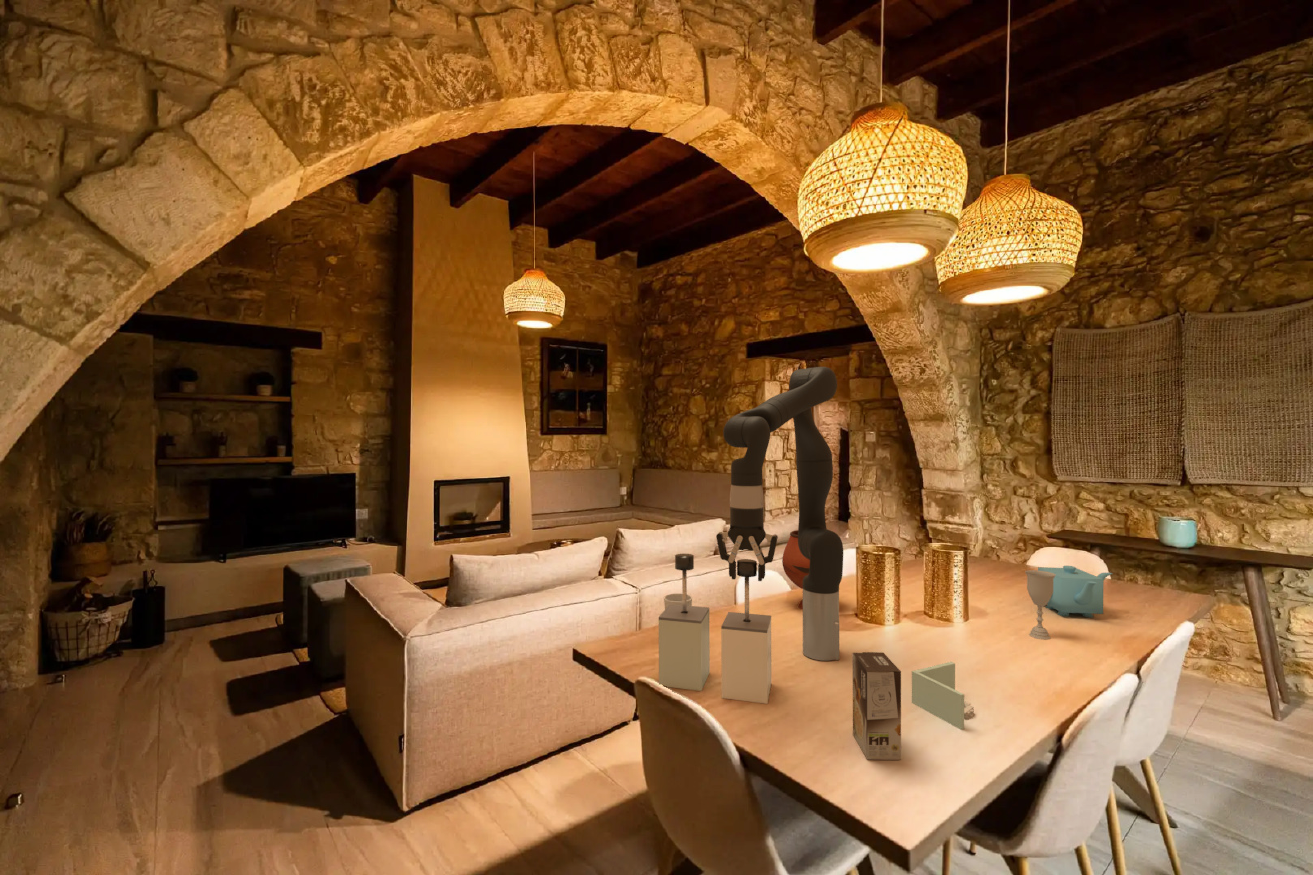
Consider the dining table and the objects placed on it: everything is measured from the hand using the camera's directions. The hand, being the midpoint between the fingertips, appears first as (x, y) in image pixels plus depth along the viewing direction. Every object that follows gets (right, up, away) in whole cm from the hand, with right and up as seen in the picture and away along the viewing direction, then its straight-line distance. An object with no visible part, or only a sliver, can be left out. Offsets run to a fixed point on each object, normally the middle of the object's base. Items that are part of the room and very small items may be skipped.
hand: (746, 579), depth 129 cm
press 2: (0, -25, 0) cm, 25 cm away
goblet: (+31, -24, +59) cm, 71 cm away
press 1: (-14, -25, +7) cm, 30 cm away
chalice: (+89, -25, +33) cm, 98 cm away
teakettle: (+112, -24, +53) cm, 126 cm away
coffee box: (+21, -26, -22) cm, 40 cm away
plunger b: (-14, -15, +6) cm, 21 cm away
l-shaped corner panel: (+43, -26, -9) cm, 51 cm away
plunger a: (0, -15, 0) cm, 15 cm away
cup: (-14, -25, +32) cm, 43 cm away
